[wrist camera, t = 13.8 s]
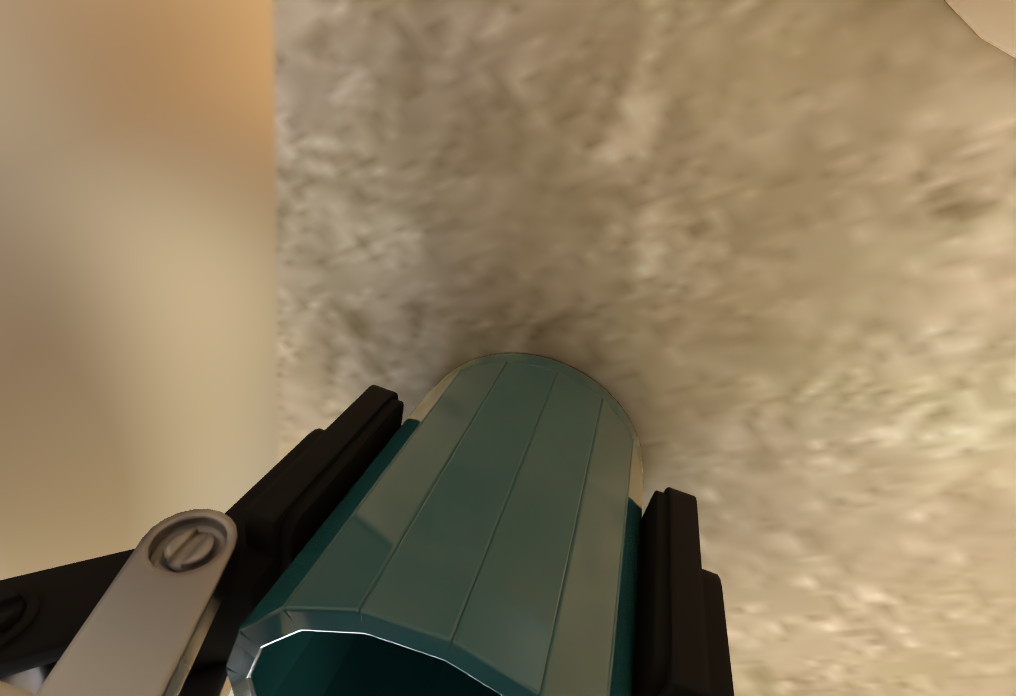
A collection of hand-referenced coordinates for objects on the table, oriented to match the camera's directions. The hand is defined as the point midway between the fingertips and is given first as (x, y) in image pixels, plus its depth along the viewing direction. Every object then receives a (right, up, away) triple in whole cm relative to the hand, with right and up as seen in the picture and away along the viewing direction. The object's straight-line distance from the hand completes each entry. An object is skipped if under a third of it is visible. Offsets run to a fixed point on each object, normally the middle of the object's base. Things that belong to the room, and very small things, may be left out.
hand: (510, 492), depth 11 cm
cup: (0, +1, +1) cm, 1 cm away
